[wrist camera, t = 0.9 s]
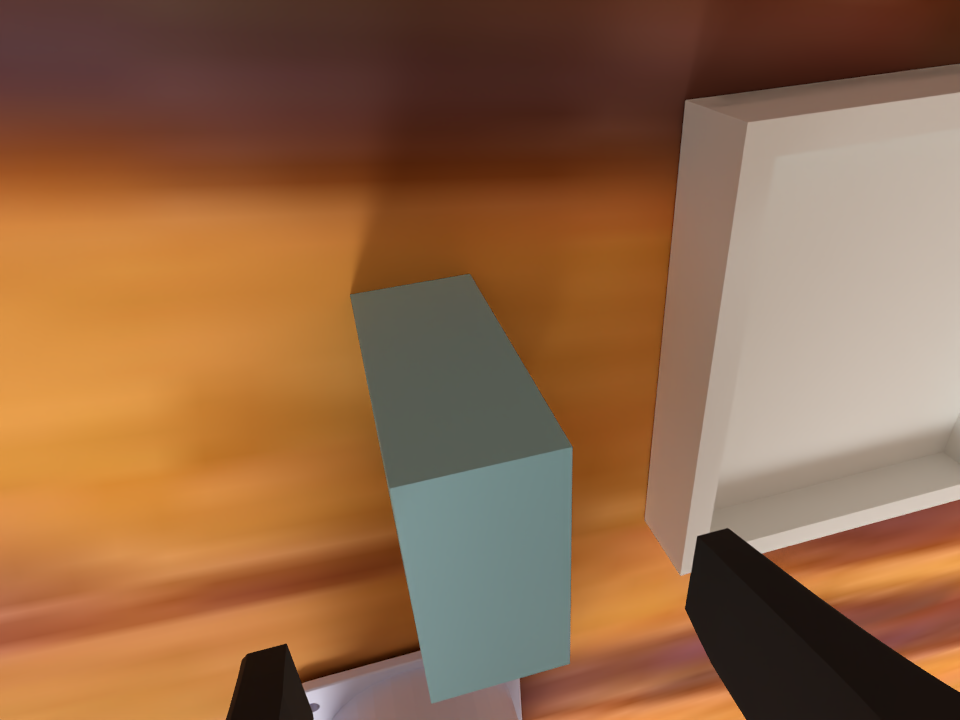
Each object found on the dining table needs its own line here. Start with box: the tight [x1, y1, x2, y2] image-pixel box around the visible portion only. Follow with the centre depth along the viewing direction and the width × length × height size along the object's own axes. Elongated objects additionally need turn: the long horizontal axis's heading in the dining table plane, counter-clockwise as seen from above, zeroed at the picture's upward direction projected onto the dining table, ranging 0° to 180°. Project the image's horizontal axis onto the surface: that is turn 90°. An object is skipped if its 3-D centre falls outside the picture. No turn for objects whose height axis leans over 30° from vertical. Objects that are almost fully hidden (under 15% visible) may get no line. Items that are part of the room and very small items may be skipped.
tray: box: [645, 64, 960, 576], centre depth 19 cm, size 14×12×2 cm
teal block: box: [350, 274, 572, 704], centre depth 15 cm, size 6×3×7 cm, turn 4°
